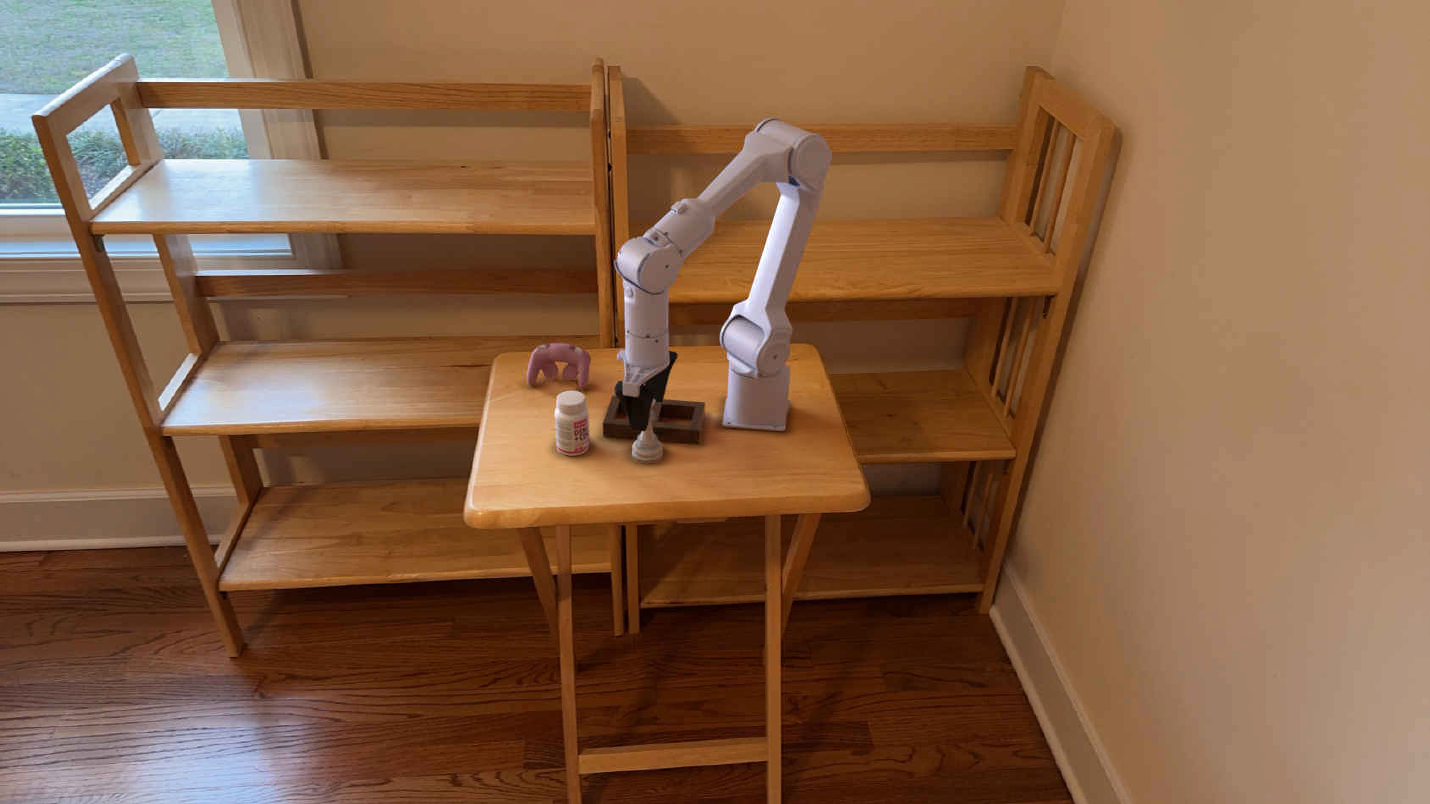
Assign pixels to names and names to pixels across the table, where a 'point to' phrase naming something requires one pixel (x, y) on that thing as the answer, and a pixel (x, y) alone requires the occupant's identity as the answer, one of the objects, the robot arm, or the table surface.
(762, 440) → the table surface
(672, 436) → the stand
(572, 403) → the pill bottle
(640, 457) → the chess piece
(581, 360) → the video game controller
